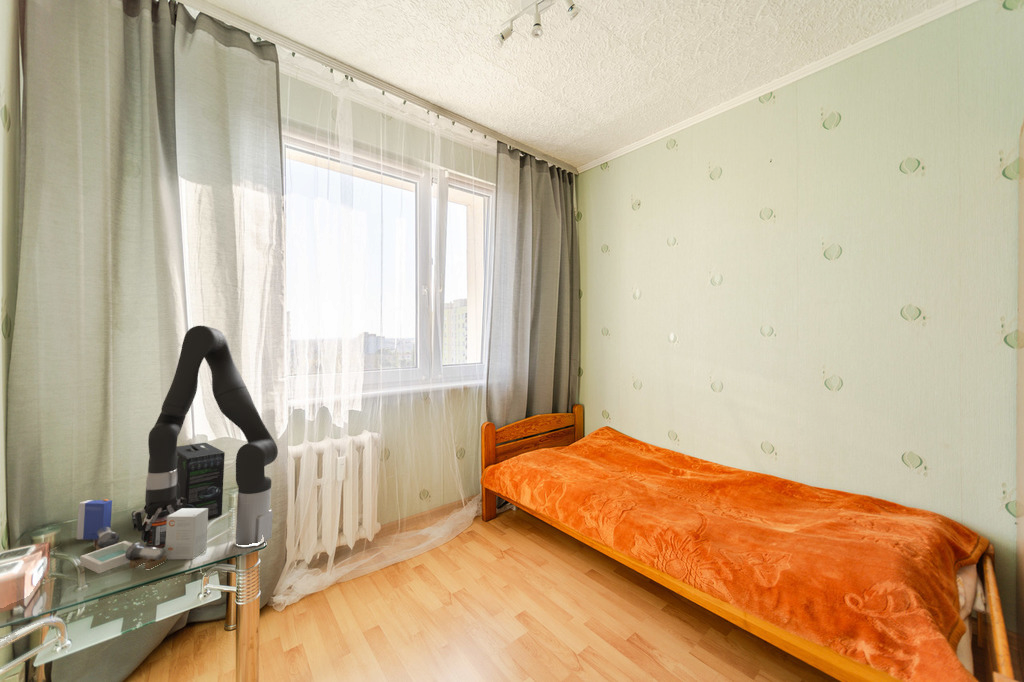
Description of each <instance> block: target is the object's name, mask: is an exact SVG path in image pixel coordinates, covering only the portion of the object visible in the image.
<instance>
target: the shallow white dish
mask: <svg viewBox="0 0 1024 682" xmlns="http://www.w3.org/2000/svg"><path fill="white" fill-rule="evenodd" d="M132 544H133V543H132V542H131V541H127V540H123V541H121V542H120V541H119V542H118V543H117V544H114V545H111V546H108V547H105V548H102V549H99V550H97V551H96V550H94V551H92V552H89V553H86V554H82V555H80V558H79V559H80V560H79V561H80V562H79V563H80V564H79V565H80V566H82V567H84V568H86V569H88V570H91V571H92V572H94V573H97V574H102V573H103V572H106V571H109V570H112V569H114V568H116V567H119V566H122V565H124V564H127V563H129V561H130V560H127V559H126V557H125V554H126V551H127V549H128V548H129V547H130V546H131V545H132Z"/></svg>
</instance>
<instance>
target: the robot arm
mask: <svg viewBox="0 0 1024 682" xmlns="http://www.w3.org/2000/svg"><path fill="white" fill-rule="evenodd" d="M204 360H205V361H206V363H207V365H208V366H209V369H210V373H211V386H212V387H211V388H212V395H213V397H214V400H215V401H216V403H217V406H218V408H219V410H220V412H221V413H222V414H223V415H224V416H225V417H226V418H227V419H228V420H229V421H231V422H232V423H233V425H235V426H236V427H238V428H239V430H240V431H241V432H242V433H243V435H244V437H245V439H246V441H247V443H245V444H243V445H242V446H240V447H239V448H238V450H237V452H236V457H235V481H236V485H237V488H238V489H237V490H238V491H237V506H236V508H237V509H236V522H235V523H236V524H235V525H236V526H235V543H236V544H238V545H249V544H252V543H258V542H260V541H261V539H262V535H263V537H264V541H265V542H264V543H266V542H268V541H269V540H270V539H272V532H273V516H274V515H273V514H274V511H273V509H271V499H272V498H271V497H272V494H271V493H272V479H271V478H270V477H269V476H266V475H265V473H266V472H265V467H267V466H268V465H270V464H272V463H273V462H275V460H277V458H278V454H279V453H278V452H279V451H278V446H277V443H276V441H275V439H274V438H273V436H272V435H271V434H270V432H269V429H268V428H267V427H266V425H265V424H264V422H263V420H262V418H261V416H260V414H259V412H258V409H257V407H256V406H255V404H254V403H255V402H254V401H253V398H252V396H251V394H250V392H249V389H248V388H247V386H246V384H245V381H244V380H243V377H242V374H241V373H240V371H239V370H238V367H237V365H236V363H235V361H234V359H233V355H232V353H231V350H230V346H229V343H228V340H227V337H226V336H225V335H224V333H223V332H222V331H220V330H218V329H217V328H213V327H210V326H206V325H195V326H193V327H191V328H189V329H188V330H187V331H186V333H185V335H184V338H183V340H182V345H181V350H180V355H179V358H178V362H177V365H176V366H177V367H176V369H175V373H174V377H173V380H172V382H171V384H170V387H169V390H168V392H167V393H166V396H165V398H164V400H163V402H162V404H161V405H162V406H161V409H160V410H161V411H160V413H159V416H158V417H157V420H156V422H155V424H154V426H153V427H152V428H151V429H150V430H149V433H148V443H147V444H148V445H147V446H148V455H149V458H148V468H147V470H148V471H147V476H146V482H145V484H146V485H145V497H144V498H145V501H144V502H145V505H144V507H143V508H142V509H140V510H139V509H138V510H137V511H136V510H134V511H132V512H131V519H132V527H133V530H134V531H137V532H141V536H140V537H141V538H140V539H141V541H143V542H144V543H147V542H149V541H150V530H149V529H150V527H151V526H152V523H154V522H155V520H156V518H157V516H158V515H159V513H160V512H161V511H162V510H165V509H167V510H168V512H169V513H168V514H170V515H171V514H172V513H174V510H173V508H174V506H175V505H176V503H177V510H176V511H178V510H180V509H182V508H186V504H187V499H186V498H183V497H180V498H179V499H176V496H177V481H178V473H177V462H178V455H177V452H176V449H177V446H178V437H179V435H180V433H181V431H182V429H183V428H182V427H183V425H184V422H185V419H186V416H187V415H188V412H189V411H190V408H191V406H192V404H193V402H194V399H195V397H196V395H197V391H198V380H199V372H200V368H201V365H202V363H203V361H204ZM144 514H145V517H144ZM143 517H144V519H142V518H143ZM151 517H152V518H151ZM150 518H151V519H150Z"/></svg>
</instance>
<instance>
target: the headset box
mask: <svg viewBox="0 0 1024 682" xmlns="http://www.w3.org/2000/svg"><path fill="white" fill-rule="evenodd" d="M176 452H177V455H178V462H177V473H178V481H177V496H176V499H179V498H180V497H183V498H186V499H187V504H186V508H208V520H209V519H214V518H217V517H220V516H223V501H224V499H223V496H224V495H223V494H224V493H223V492H224V474H225V453H226V452H225V451H223V450H222V449H220V448H217V447H216V446H213V445H211V444H210V443H208V442H199V443H193V444H191V443H190V444H186V445H184V444H183V445H177V449H176ZM173 510H174V512H176V510H177V503H176V505H175V506H174V508H173Z"/></svg>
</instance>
